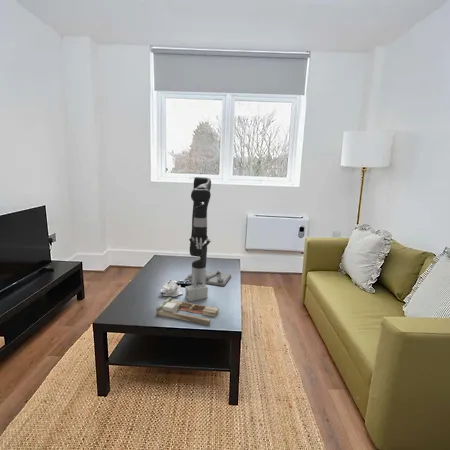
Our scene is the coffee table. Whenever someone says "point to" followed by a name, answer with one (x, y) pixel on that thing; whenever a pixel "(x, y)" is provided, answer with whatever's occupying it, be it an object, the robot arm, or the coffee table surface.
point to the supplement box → (196, 292)
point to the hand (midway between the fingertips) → (199, 255)
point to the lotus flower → (171, 289)
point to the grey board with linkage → (214, 278)
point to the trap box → (189, 308)
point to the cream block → (170, 307)
